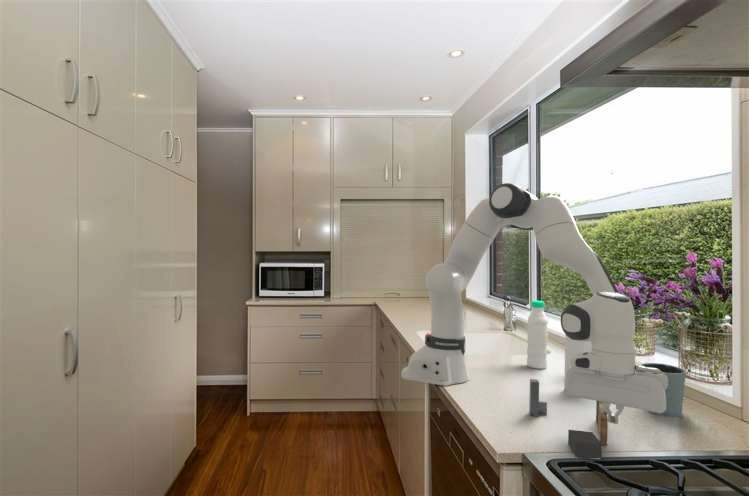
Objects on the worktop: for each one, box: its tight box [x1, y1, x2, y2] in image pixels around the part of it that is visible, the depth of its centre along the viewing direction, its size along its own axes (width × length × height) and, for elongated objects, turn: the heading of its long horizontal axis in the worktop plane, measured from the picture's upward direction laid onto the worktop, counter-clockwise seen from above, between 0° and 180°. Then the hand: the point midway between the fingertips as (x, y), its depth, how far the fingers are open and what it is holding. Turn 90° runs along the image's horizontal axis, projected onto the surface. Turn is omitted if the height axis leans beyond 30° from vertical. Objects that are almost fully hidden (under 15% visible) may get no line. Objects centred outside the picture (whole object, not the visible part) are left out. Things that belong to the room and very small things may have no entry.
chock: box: [567, 429, 603, 460], centre depth 88 cm, size 5×6×4 cm
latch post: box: [528, 378, 548, 418], centre depth 108 cm, size 4×3×9 cm
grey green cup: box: [640, 362, 687, 418], centre depth 113 cm, size 10×10×12 cm
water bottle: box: [526, 300, 549, 370], centre depth 155 cm, size 7×7×25 cm
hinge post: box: [595, 401, 599, 424], centre depth 104 cm, size 2×2×9 cm
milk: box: [563, 333, 592, 391], centre depth 128 cm, size 6×6×22 cm
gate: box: [597, 401, 609, 446], centre depth 97 cm, size 13×1×6 cm, turn 153°
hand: (613, 422), depth 94 cm, fingers closed
